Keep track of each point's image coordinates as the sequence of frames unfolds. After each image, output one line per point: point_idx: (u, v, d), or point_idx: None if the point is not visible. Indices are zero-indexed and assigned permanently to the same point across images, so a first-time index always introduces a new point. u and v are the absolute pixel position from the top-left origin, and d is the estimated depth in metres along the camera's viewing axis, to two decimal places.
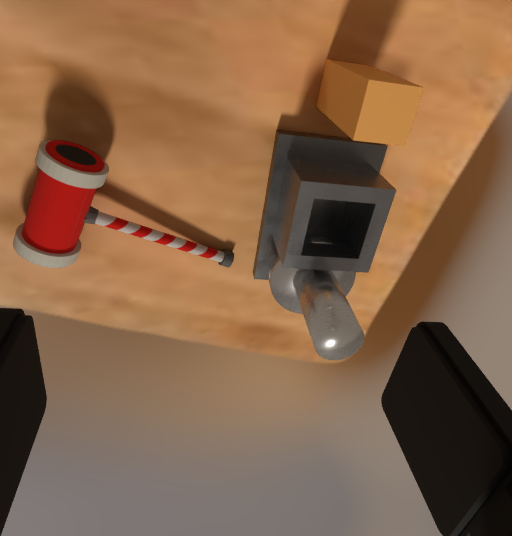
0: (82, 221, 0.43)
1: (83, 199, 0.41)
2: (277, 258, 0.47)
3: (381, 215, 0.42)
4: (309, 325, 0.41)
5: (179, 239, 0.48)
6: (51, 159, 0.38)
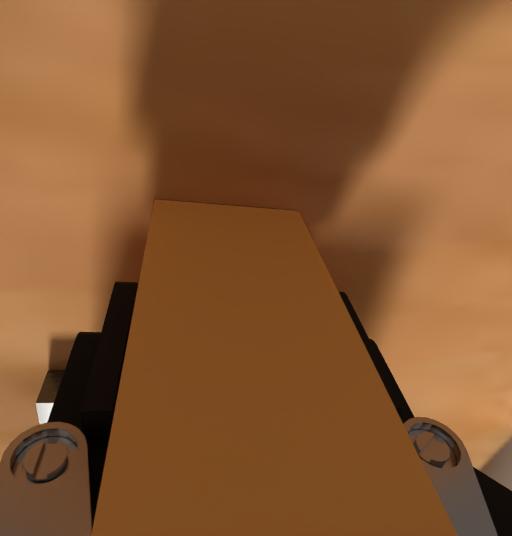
0: None
1: None
2: None
3: None
4: None
5: None
6: None
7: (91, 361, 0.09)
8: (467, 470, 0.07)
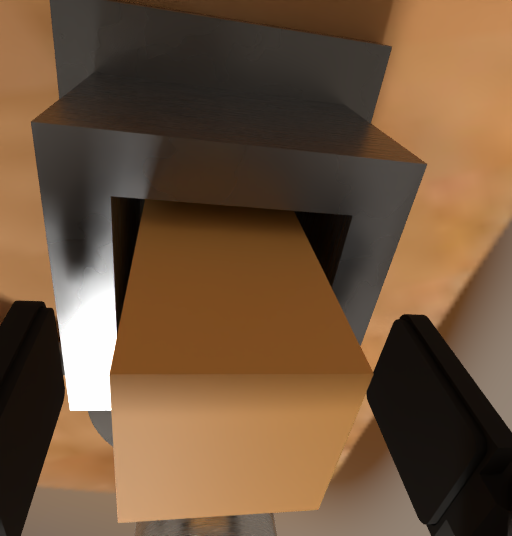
0: None
1: None
2: None
3: (372, 254, 0.12)
4: None
5: None
6: None
7: None
8: None
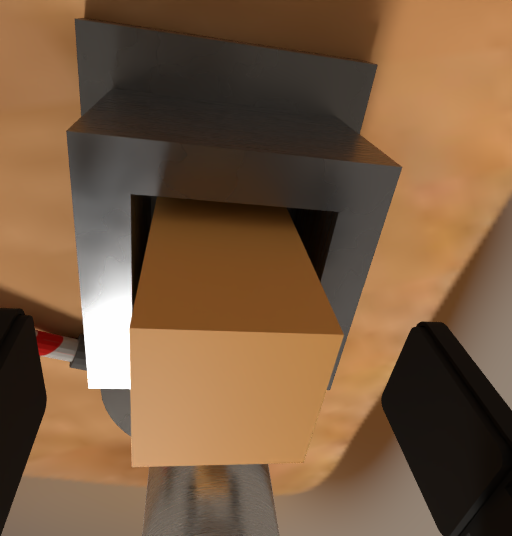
0: None
1: None
2: None
3: (357, 246, 0.14)
4: None
5: None
6: None
7: None
8: None
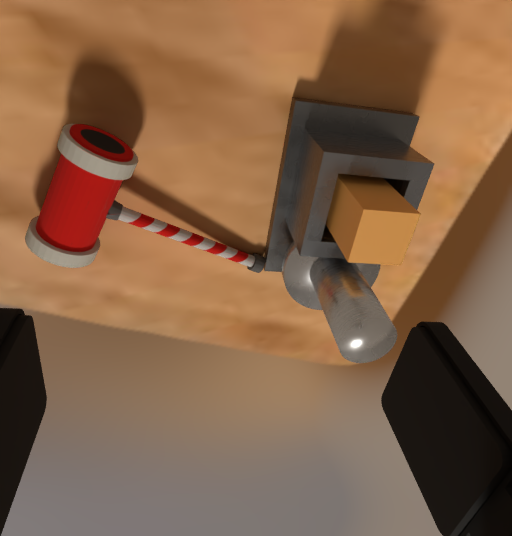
0: (105, 216, 0.39)
1: (108, 191, 0.36)
2: (292, 246, 0.41)
3: (415, 194, 0.36)
4: (331, 322, 0.36)
5: (208, 240, 0.44)
6: (77, 144, 0.33)
7: None
8: None
